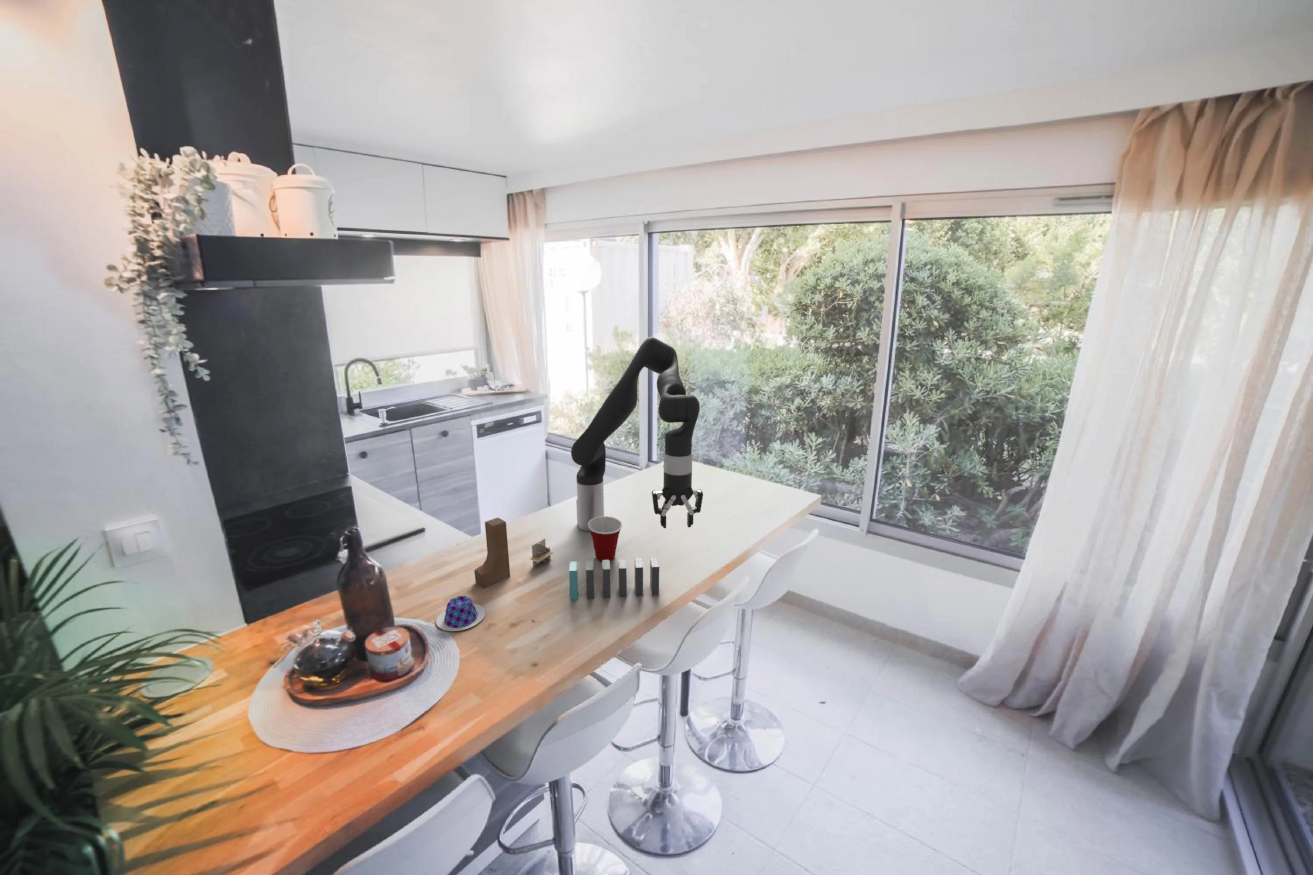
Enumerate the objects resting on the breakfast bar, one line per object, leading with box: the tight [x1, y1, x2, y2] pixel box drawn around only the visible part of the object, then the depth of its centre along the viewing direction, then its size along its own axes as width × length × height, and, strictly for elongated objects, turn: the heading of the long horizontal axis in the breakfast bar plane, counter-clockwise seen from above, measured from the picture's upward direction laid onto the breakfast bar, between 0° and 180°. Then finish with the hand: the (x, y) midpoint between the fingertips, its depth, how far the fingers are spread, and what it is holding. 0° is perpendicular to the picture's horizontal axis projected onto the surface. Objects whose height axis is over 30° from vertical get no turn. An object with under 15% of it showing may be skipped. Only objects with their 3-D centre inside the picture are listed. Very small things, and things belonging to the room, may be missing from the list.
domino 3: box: [601, 560, 611, 599], centre depth 149 cm, size 2×5×9 cm, turn 6°
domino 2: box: [585, 560, 595, 600], centre depth 148 cm, size 2×5×9 cm, turn 6°
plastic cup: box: [588, 515, 623, 563], centre depth 167 cm, size 11×11×12 cm
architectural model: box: [529, 538, 554, 567], centre depth 164 cm, size 3×7×7 cm, turn 147°
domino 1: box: [568, 561, 579, 601], centre depth 148 cm, size 2×5×9 cm, turn 6°
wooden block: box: [473, 517, 511, 589], centre depth 153 cm, size 9×4×18 cm, turn 136°
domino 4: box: [617, 558, 628, 598], centre depth 149 cm, size 2×5×9 cm, turn 6°
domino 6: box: [649, 557, 660, 597], centre depth 150 cm, size 2×5×9 cm, turn 6°
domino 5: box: [634, 557, 644, 598], centre depth 150 cm, size 2×5×9 cm, turn 6°
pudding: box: [435, 595, 486, 632], centre depth 138 cm, size 12×12×5 cm
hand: (676, 526), depth 146 cm, fingers open, 6 cm apart
